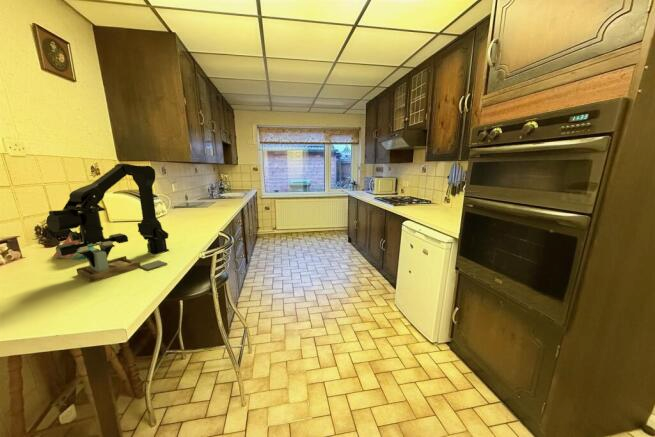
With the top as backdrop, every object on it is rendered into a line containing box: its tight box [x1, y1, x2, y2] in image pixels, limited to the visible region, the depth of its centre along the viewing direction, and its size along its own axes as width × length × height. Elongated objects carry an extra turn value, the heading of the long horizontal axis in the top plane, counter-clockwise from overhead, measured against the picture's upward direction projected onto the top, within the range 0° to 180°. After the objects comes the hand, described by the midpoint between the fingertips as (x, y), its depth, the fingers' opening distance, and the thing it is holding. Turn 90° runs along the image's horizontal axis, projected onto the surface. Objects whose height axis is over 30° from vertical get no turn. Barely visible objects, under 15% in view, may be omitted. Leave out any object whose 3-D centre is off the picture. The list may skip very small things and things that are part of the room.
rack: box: [76, 255, 141, 283], centre depth 95 cm, size 15×12×2 cm
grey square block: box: [88, 247, 109, 273], centre depth 92 cm, size 3×9×9 cm, turn 60°
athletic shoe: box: [53, 235, 96, 260], centre depth 112 cm, size 27×9×12 cm
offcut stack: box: [108, 261, 129, 268], centre depth 98 cm, size 5×8×2 cm, turn 60°
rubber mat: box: [139, 259, 168, 271], centre depth 100 cm, size 7×7×1 cm
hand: (99, 265), depth 93 cm, fingers closed on grey square block, 3 cm apart
